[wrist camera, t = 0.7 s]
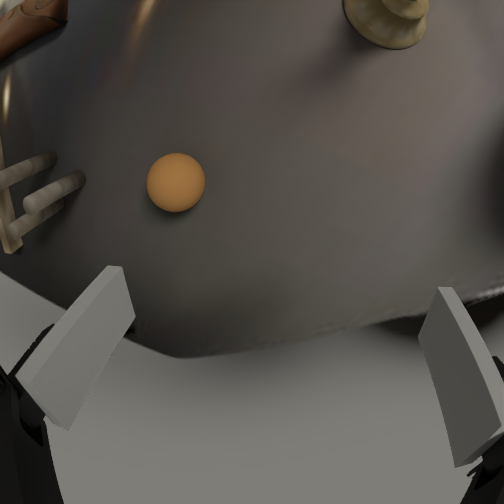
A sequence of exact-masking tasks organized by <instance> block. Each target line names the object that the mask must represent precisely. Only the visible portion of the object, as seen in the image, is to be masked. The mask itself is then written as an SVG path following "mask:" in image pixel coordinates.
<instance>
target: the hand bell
mask: <svg viewBox="0 0 504 504" xmlns="http://www.w3.org/2000/svg"><path fill="white" fill-rule="evenodd" d="M428 8H429V1H428V0H344V9H345V12H346V15H347V17H348V19H349V21H350V23H351V24H352V25H353V27H354V28H355V29H356V30H357V31H358V32H359V33H360V34H361V35H362V36H363V37H365V38H366V39H368V40H369V41H371V42H373V43H375V44H377V45H379V46H382V47H386V48H391V49H404V48H408V47H411V46H413V45H415V44H416V43H417V42H419V41H420V39H421V38H422V37H423V35H424V33H425V30H426V13H427V11H428Z"/></svg>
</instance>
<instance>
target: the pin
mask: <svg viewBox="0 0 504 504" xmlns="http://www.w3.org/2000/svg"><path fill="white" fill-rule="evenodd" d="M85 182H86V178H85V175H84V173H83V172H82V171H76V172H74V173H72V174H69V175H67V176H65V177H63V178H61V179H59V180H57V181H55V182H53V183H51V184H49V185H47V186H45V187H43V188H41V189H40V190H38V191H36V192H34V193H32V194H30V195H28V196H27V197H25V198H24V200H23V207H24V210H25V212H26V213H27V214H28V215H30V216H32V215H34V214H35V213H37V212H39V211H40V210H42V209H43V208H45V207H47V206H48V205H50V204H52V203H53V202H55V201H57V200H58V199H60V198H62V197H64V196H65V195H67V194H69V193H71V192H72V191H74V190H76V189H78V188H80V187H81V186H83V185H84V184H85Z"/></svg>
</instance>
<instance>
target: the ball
mask: <svg viewBox="0 0 504 504" xmlns="http://www.w3.org/2000/svg"><path fill="white" fill-rule="evenodd" d="M146 184H147V191H148V194H149V196H150V198H151V200H152V201H153V202H154V203H155V204H156V205H157V206H158V207H160V208H161V209H163V210H166V211H170V212H180V211H184V210H187V209H189V208H191V207H192V206H193V205H195V204H196V203H197V202H198V201H199V199H200V198H201V196H202V194H203V191H204V188H205V176H204V172H203V169H202V168H201V166H200V164H199V163H198V162H197V161H196V160H195V159H193V158H192V157H190V156H188V155H185V154H181V153H172V154H168V155H165V156H163V157H161V158H160V159H158V160H157V161H156V162H155V163H154V164H153V165H152V167H151V168H150V170H149V173H148V176H147V183H146Z"/></svg>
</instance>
